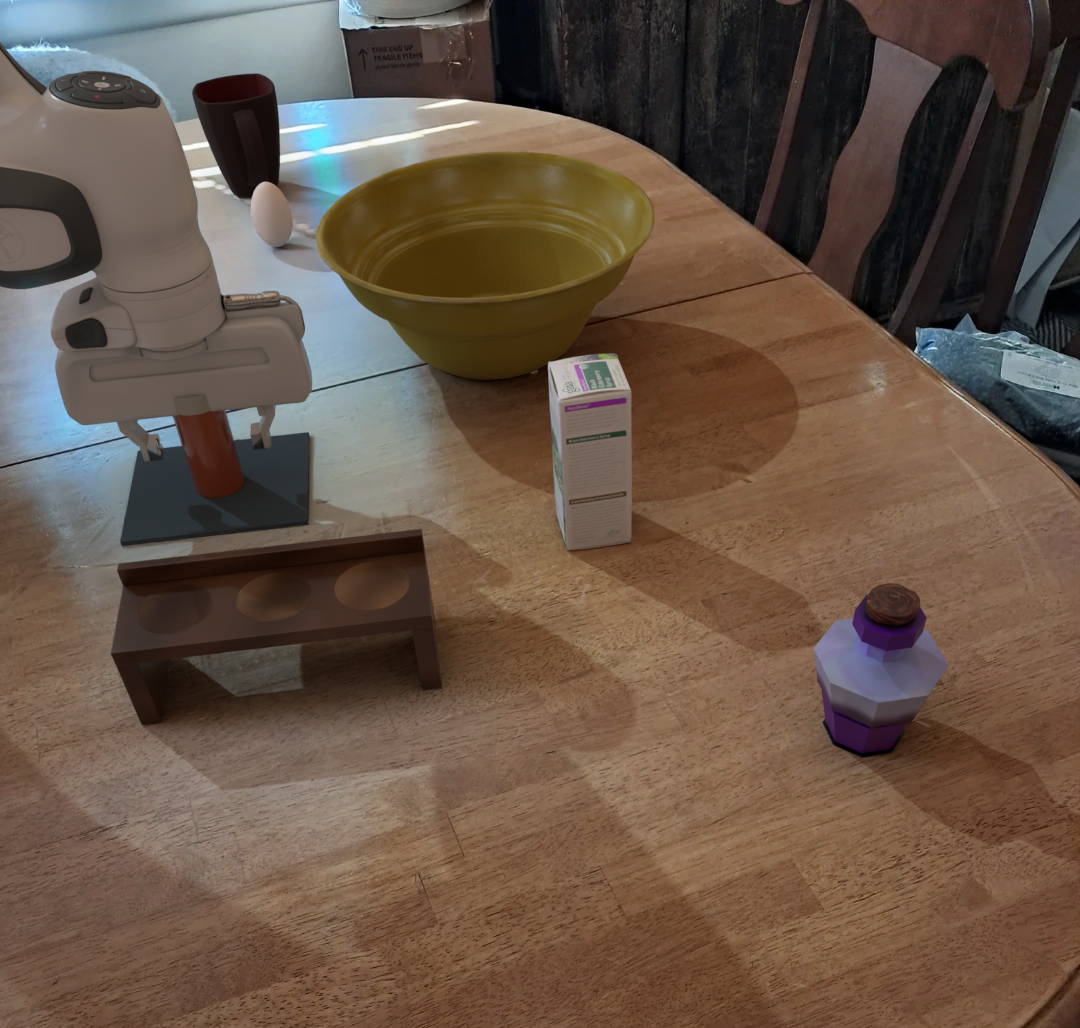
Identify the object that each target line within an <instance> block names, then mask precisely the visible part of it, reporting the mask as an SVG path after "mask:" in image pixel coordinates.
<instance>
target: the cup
mask: <svg viewBox="0 0 1080 1028" xmlns="http://www.w3.org/2000/svg"><path fill="white" fill-rule="evenodd" d="M191 95H192V100H193V103H194V106H195V107H194V108H195V110H196V113H197V117H198V120H199V122H200V126H201V128H202V131H203V134H204V136H205V138H206V141H207V143H208V146H209V149H210V151H211V154H212V155H213V157H214V160H215V162H216V164H217V166H218V169H219V170H220V173H221V175H222V177H223V179H224V180H225V182H226V183H227V186H228V188H229V190H230V191H231V192H232V194H233V195H234V196H236V197H238V198H239V199H249V198H251V199H252V196H253V193H254V190H255V189H256V187H257V186H258V185H259V184H260V183H262V182H270V183H272V184H274V185H275V186H277V187H278V188H279V183H280V170H281V134H280V133H281V131H280V116H279V107H278V99H277V93H276V86H275V83H274V82H273V81H272V80H271V79H270V78H269V77H267V76H266V75H264V74H261V73H240V74H239V73H238V74H231V75H224V76H220V77H215V78H211V79H207V80H204V81H201V82H197V83H195V85H194V86H193V88H192V91H191Z"/></svg>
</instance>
